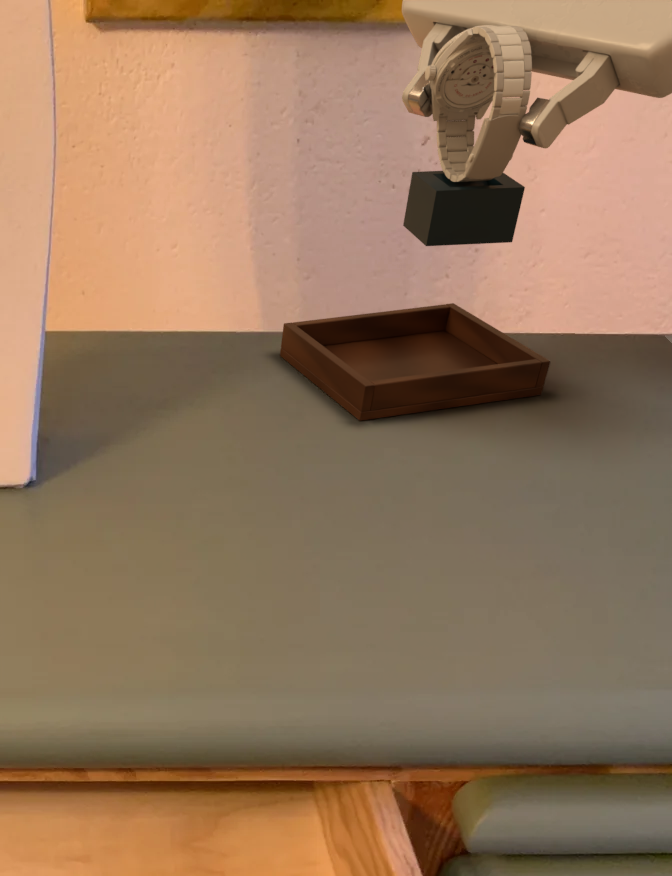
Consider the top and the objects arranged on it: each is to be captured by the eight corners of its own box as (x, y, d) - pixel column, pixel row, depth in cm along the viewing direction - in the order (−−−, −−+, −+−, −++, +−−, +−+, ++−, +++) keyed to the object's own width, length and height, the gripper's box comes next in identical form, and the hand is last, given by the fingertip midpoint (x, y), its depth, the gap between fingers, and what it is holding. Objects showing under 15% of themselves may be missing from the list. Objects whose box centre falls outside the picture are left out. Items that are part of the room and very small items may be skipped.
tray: (446, 334, 90) (453, 302, 88) (541, 395, 81) (551, 360, 80) (279, 355, 87) (283, 323, 85) (359, 421, 78) (365, 386, 76)
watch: (474, 213, 76) (515, 13, 69) (523, 251, 70) (575, 37, 63) (391, 216, 76) (425, 16, 68) (434, 255, 70) (476, 40, 62)
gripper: (807, -29, 61) (626, 199, 64) (513, -63, 74) (374, 128, 77) (790, -133, 57) (596, 117, 59) (480, -150, 70) (333, 56, 72)
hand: (468, 123), depth 68 cm, fingers closed on watch, 8 cm apart
